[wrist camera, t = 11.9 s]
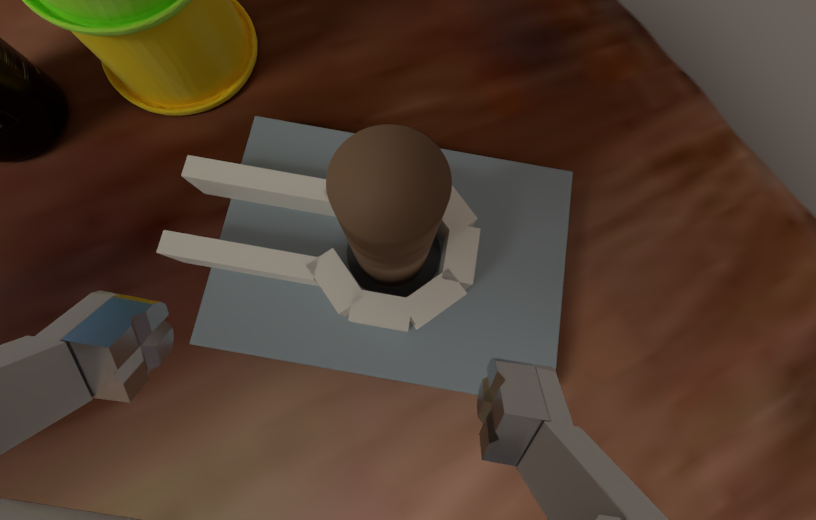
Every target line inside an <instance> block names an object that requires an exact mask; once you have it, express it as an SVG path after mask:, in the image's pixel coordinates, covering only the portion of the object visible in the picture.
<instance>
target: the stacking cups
mask: <svg viewBox="0 0 816 520" xmlns="http://www.w3.org/2000/svg"><path fill="white" fill-rule="evenodd" d="M22 1H23V2H24V3H25V4H26V5H27V6H28V7H29V8H30V9H32V10H33V11H34V12H35V13H37V14H38V15H39V16H41V17H42V18H43V19H45V20H47V21H49V22H51V23H52V24H55V25H57V26H59V27H61V28H64V29H66V30H70V31H71V32H72V33H73V34H74V35H75V36H76V37H77V38H78V39H79V40H80V41H81V42H82V43H83V44H84V45H85V46H86V47H87V48H88V49H89V50H91V51H92V52H93V53H94V54H95V55H96V56H97V57H98V58H99V59H100V60H101V63H102V67H103V70H104V72H105V74H106V76H107V78H108V80H109V82H110V83H111V84H112V86H113V87H114V88H115V89H116V90H117V91H118V92H119V93H120V94H121V95H122V96H123V97H124V98H126V99H127V100H128V101H130V102H131V103H133V104H135V105H136V106H138V107H140V108H142V109H145V110H147V111H150V112H154V113H158V114H163V115H170V116H182V115H192V114H197V113H201V112H204V111H208V110H210V109H213V108H215V107H217V106H219V105H221V104H222V103H224V102H225V101H227V100H229V99H230V98H231V97H233V96H234V95H235V94H236V93H237V92H238V91H239V90H240V89H241V88H242V86H243V85H244V84H245V83H246V81H247V80H248V78H249V76H250V75H251V73H252V70H253V68H254V65H255V62H256V58H257V48H258V45H257V36H256V32H255V28H254V26H253V23H252V21H251V19H250V17H249V15H248V14H247V12H246V11H245V9H244V8H243V7H242V6H241V5H240V4H239V3H238V1H237V0H22Z"/></svg>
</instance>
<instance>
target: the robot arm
mask: <svg viewBox="0 0 816 520" xmlns="http://www.w3.org/2000/svg"><path fill="white" fill-rule="evenodd" d="M168 315H169V313H168V310H167V306H166V304H165V303H162V302H159V301H154V300H149V299H144V298H138V297H133V296H128V295H123V294H116V293H111V292H106V291H100V290H99V291H96V292H92V293H90V294H89V295H88V296H86V297H85V298H84V299H82V300H81V301H80V302H78V303H77V304H76V305H75V306H73V307H72V308H71V309H69V310H68V311H67V312H65V313H64V314H63V315H62V316H60V317H59V318H58V319H56V320H55V321H54V322H52V323H51V324H50V325H49V326H47V327H46V328H45V329H43V330H42V331H41V332H39V333H38V334H37V335H36V336H24V337H21V338H19V339H16V340H13V341H10V342H7V343H4V344H2V345H0V455H2V454H3V453H5V452H6V451H8V450H10V449H11V448H13V447H15V446H16V445H18V444H20V443H21V442H23V441H25V440H26V439H28V438H30V437H31V436H33V435H35V434H36V433H38V432H40V431H41V430H43V429H45V428H46V427H48V426H50V425H51V424H53V423H55V422H56V421H58V420H60V419H61V418H63V417H65V416H66V415H68V414H70V413H71V412H73V411H75V410H76V409H78V408H80V407H81V406H83V405H85V404H86V403H88V402H90V401H91V400H92V398H99V399H107V400H114V401H122V402H129V403H130V402H131V401H132V400H133V399H134V398H135V396H136V395H137V394H138V393H139V391H140V390H141V389H142V388H143V387H144V385H145V384H146V383H147V382H148V381H149V371H150V370H152V369H154V368H156V367H158V366H160V365H162V363H163V362H164V361H165V359H166V358H167V357H168V356H169V353H170V351H171V348H172V346H173V342H174V333H173V328H172V327H171V326H170V325H169V324H168V323H167V322H166V321H165V318H166V317H167V316H168ZM487 373H488V376H487V377H486V378H484V379H482V381H481V384H480V387H479V391H478V397H477V414H478V418H479V419H480V421H481V422H482V423H483V426H482V428H481V431H480V433H479V436H480V446H481V456H482V460H485V461H490V462H495V463H501V464H506V465H511V466H516V467H517V468H516V469H517V470H518V472H519V473H520V475H521V477H522V478H523V480H524V481H525V483H526V485H527V486H528V488H529V490H530V491H531V493H532V494H533V496H534V498H535V499H536V501H537V502H538V504H539V506H540V507H541V509H542V511H543V512H544V514H545V515H546V517H547V519H548V520H668V518H667V517H666V516H665V515H664V514H663V513H662V512H661V511H660V510H659V509H658V508H657V507H656V506H655V505H654V504H653V503H652V502H651V501H650V500H649V499H648V498H647V496H646V495H645V494H644V493H643V492H642V491H641V490H640V489H639V488H638V487H637V486H636V485H635V484H634V483H633V482H632V481H631V480H630V479H629V478H628V477H627V476H626V474H625V473H624V472H623V471H622V470H621V469H620V468H619V467H618V466H617V465H616V464H615V463H614V462H613V461H612V460H611V459H610V458H609V457H608V456H607V455H606V454H605V452H604V451H603V450H602V449H601V448H600V447H599V446H598V445H597V444H596V443H595V442H594V441H593V440H592V439H591V438H590V437H589V436H588V435H587V434H586V433H585V432H584V430H583V429H582V428H581V427H577V426H574V424H573V421H572V418H571V415H570V412H569V409H568V406H567V403H566V400H565V397H564V394H563V391H562V388H561V386H560V383H559V380H558V377H557V374H556V371H555V370H554V368H553V367H549V366H543V365H536V364H530V363H524V362H517V361H511V360H505V359H498V358H492V359H491V360H490V361H489V364H488V366H487ZM0 520H140V519H134V518H128V517H121V516H115V515H108V514H102V513H96V512H89V511H83V510H76V509H70V508H63V507H57V506H51V505H44V504H38V503H31V502H25V501H19V500H12V499H6V498H0Z"/></svg>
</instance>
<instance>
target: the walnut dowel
mask: <svg viewBox="0 0 816 520" xmlns="http://www.w3.org/2000/svg"><path fill="white" fill-rule="evenodd" d="M326 189H327V195H328V199H329V202H330V204H331V207H332V209H333V211H334V213H335V215H336V217H337V219H338V222H339V224H340V226H341V228H342V230H343V232H344V234H345V236H346V238H347V240H348V242H349V244H350V247H351V249H352V251H353V253H354V255H355V257H356V259H357V261H358V263H359V265H360V267H361V269H362V271H363V272H364V273H365V275H366V276H367V277H368V278H369V279H371V280H372V281H374V282H376V283H378V284H380V285H384V286H399V285H403V284H405V283H408V282H409V281H411V280H412V279H414V278H415V277H416V276H417V275H418V274H419V272H420V271H421V270H422V268H423V266H424V263H425V261H426V258H427V256H428V253H429V251H430V248H431V246H432V243H433V240H434V238H435V235H436V233H437V230H438V228H439V225H440V223H441V220H442V218H443V215H444V213H445V210H446V208H447V205H448V202H449V200H450V196H451V190H452V176H451V171H450V167H449V164H448V161H447V159H446V157H445V155H444V154H443V152H442V151H441V149H440V148H439V147H438V146H437V145H436V144H435V143H434V142H433V141H432V140H431V139H430V138H429V137H427V136H426V135H424V134H423V133H421V132H419V131H417V130H415V129H412V128H409V127H406V126H402V125H395V124H383V125H376V126H371V127H368V128H365V129H363V130H360V131H359V132H357V133H355V134H353V135H352V136H350V137H349V138H348V139H346V140H345V141H344V142H343V143H342V144H341V145H340V147H339V148H338V149H337V150H336V152H335V153H334V155H333V157H332V159H331V161H330V164H329V167H328V170H327V176H326Z"/></svg>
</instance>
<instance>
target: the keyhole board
mask: <svg viewBox="0 0 816 520" xmlns="http://www.w3.org/2000/svg"><path fill="white" fill-rule="evenodd" d="M353 134H355V133H349V132H343V131H338V130H332V129H326V128H321V127H315V126H309V125H304V124H298V123H292V122H287V121H281V120H275V119H270V118H264V117H258V116H255V118H254V121H253V125H252V128H251V132H250V135H249V139H248V142H247V146H246V149H245V152H244V156H243V159H242V163H241V164H236V163H230V162H225V161H219V160H213V159H208V158H202V157H196V156H191V155H188V156H187V159H186V162H185V165H184V168H183V171H182V174H181V176H182V177H183V178H185V179H186V180H187V181H189V182H190V183H191V184H192V185H194V186H195V187H196V188H198V189H199V190H200V191H202V192H203V193H204V194H209V195H215V196H220V197H226V198H231V201H230V205H229V208H228V212H227V215H226V218H225V222H224V225H223V229H222V232H221V236H220V239H219V240H218V239H212V238H207V237H201V236H195V235H190V234H184V233H178V232H173V231H167V230H163V233H162V236H161V239H160V242H159V246H158V249H157V252H156V253H159V254H162V255H164V256H167V257H170V258H173V259H175V260H178V261H181V262H184V263H190V264H195V265H201V266H207V267H211V271H210V274H209V278H208V281H207V284H206V288H205V291H204V295H203V298H202V302H201V305H200V309H199V312H198V316H197V319H196V323H195V326H194V330H193V333H192V337H191V340H190V344H192V345H198V346H203V347H209V348H215V349H220V350H226V351H232V352H237V353H243V354H249V355H254V356H260V357H266V358H271V359H277V360H283V361H288V362H294V363H300V364H305V365H311V366H317V367H322V368H328V369H334V370H339V371H345V372H351V373H356V374H362V375H368V376H373V377H379V378H385V379H390V380H396V381H402V382H407V383H413V384H419V385H424V386H430V387H436V388H441V389H447V390H453V391H458V392H464V393H470V394H475V395H478V391H479V387H480V384H481V381H482V379H484V378H486V377H487V376H488V373H487V366H488V364H489V361H490V360H491V359H492V358H498V359H505V360H511V361H517V362H524V363H530V364H536V365H543V366H549V367H553V368H554V370H555V371H556V363H557V351H558V339H559V328H560V316H561V305H562V293H563V281H564V270H565V258H566V247H567V235H568V223H569V212H570V200H571V188H572V177H573V172H571V171H565V170H559V169H554V168H548V167H542V166H537V165H531V164H525V163H520V162H514V161H508V160H503V159H497V158H491V157H486V156H480V155H474V154H468V153H463V152H457V151H451V150H446V149H441V151H442V152H443V154H444V155H445V157H446V159H447V161H448V164H449V167H450V171H451V176H452V190H451V196H450V200H449V202H448V205H447V208H446V210H445V213H444V215H443V218H442V220H441V223H440V225H439V228H438V230H437V233H436V235H435V238H434V240H433V243H432V246H431V248H430V251H429V253H428V256H427V258H426V261H425V263H424V266H423V268H422V270H421V271H420V272H419V274H418V275H417V276H416V277H415V278H414V279H412V280H411V281H409V282H408V283H405V284H403V285H399V286H384V285H380V284H378V283H376V282H374V281H372V280H371V279H369V278H368V277H367V276H366V275H365V273H364V272H363V271H362V269H361V267H360V265H359V263H358V261H357V259H356V257H355V255H354V253H353V251H352V249H351V247H350V244H349V242H348V240H347V238H346V236H345V234H344V232H343V230H342V228H341V226H340V224H339V222H338V219H337V217H336V215H335V213H334V211H333V209H332V207H331V204H330V202H329V199H328V195H327V189H326V176H327V170H328V167H329V164H330V161H331V159H332V157H333V155H334V153H335V152H336V150H337V149H338V148H339V147H340V145H341V144H342V143H343V142H344V141H345V140H346V139H348V138H349V137H350V136H352V135H353Z"/></svg>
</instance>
